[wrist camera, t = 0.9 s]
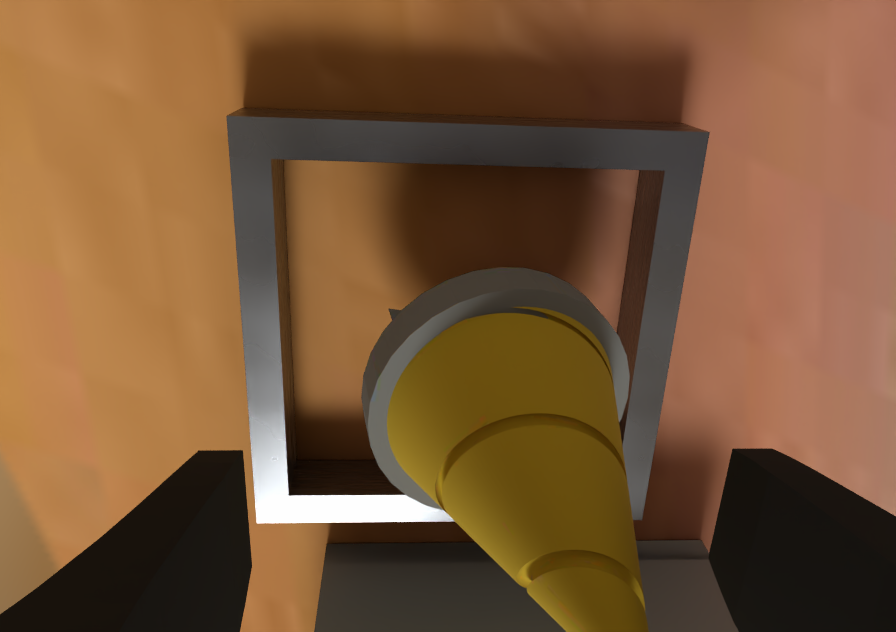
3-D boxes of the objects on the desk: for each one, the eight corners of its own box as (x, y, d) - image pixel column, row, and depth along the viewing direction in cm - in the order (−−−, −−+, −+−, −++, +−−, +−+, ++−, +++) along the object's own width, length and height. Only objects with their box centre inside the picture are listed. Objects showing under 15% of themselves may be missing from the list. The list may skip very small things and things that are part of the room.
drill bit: (431, 171, 15) (652, 483, 7) (603, 282, 18) (927, 616, 9) (303, 359, 17) (349, 812, 8) (478, 438, 19) (654, 852, 11)
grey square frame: (681, 123, 16) (709, 132, 14) (624, 484, 19) (642, 519, 18) (242, 107, 15) (226, 115, 14) (267, 486, 19) (257, 523, 17)
